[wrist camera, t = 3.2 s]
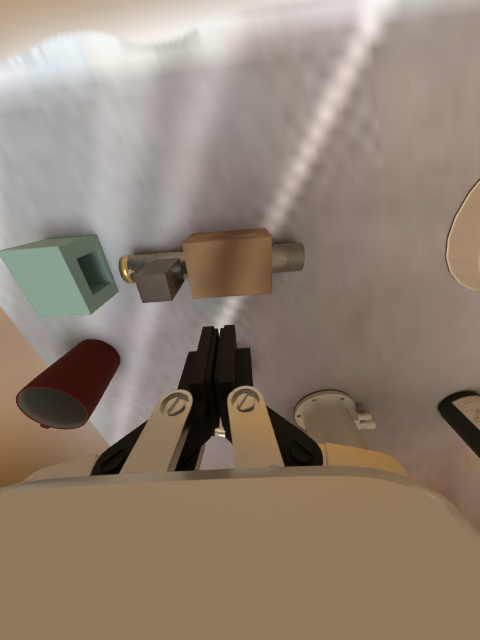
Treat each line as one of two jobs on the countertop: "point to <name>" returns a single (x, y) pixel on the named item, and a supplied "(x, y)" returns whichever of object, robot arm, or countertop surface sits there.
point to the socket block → (62, 275)
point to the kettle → (466, 242)
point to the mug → (70, 386)
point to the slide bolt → (170, 270)
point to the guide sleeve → (229, 263)
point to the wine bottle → (464, 417)
